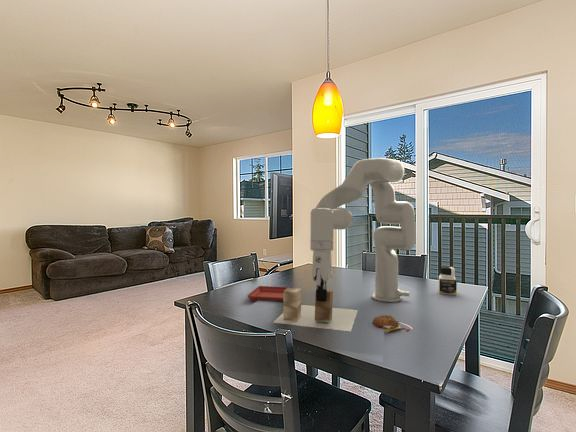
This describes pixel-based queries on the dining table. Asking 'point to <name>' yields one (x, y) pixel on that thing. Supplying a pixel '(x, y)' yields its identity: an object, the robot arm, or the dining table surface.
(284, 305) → the maple block
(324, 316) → the walnut block
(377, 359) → the dining table surface
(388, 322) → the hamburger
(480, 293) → the dining table surface
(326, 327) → the slab
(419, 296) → the dining table surface
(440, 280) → the medicine bottle
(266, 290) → the red tray
